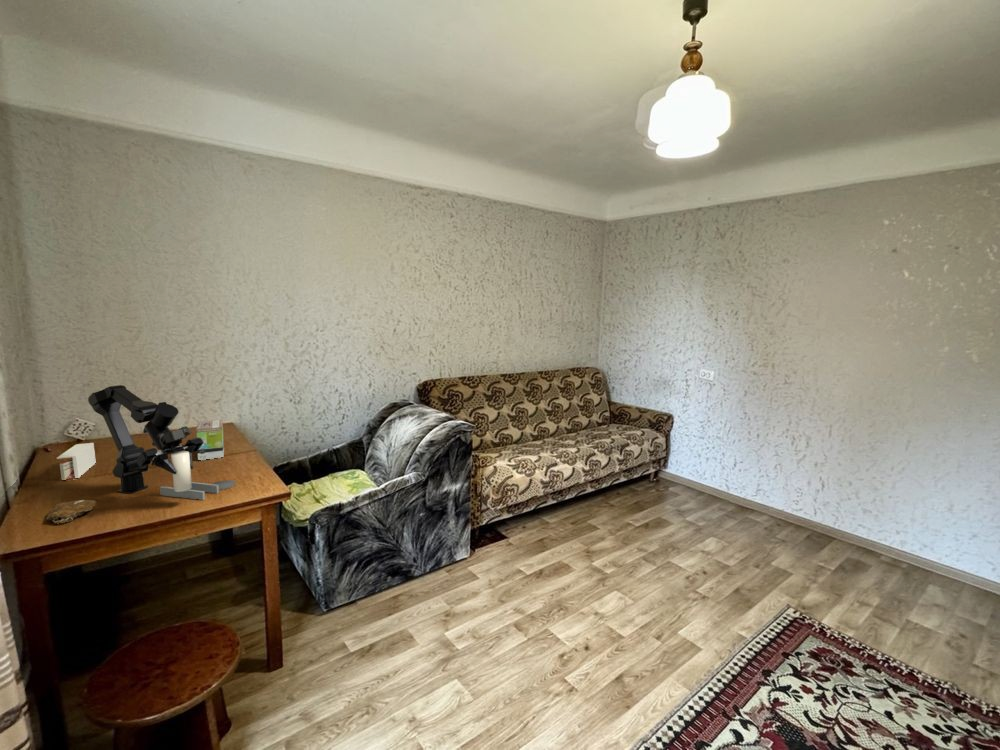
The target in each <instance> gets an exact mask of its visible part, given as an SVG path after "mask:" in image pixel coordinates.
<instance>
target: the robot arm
mask: <svg viewBox="0 0 1000 750" xmlns="http://www.w3.org/2000/svg"><path fill="white" fill-rule="evenodd" d="M87 401H88V404H89V405H90V406H91V408H92V410H93V411H94V412H95V413H97V414H99V415H100V416H101V417H102V418H103V419H104V421H105V424H106V426H107V429H108V431H109V433H110V434H111V437H112V440H113V442H114V444H115V446H116V449H117V451H118V453H117V456H116V459H115V460H116V465H115V467H114V468H113V470H112V473H113V477H116V478H119V479H120V485H121V488H120V489H118V490H117V491H116V492H117V493H123V494H133V493H137V492H139V491H141V490H144V489H146V488H149V486H148V485H146V484H145V481H144V479H145V478H144V476H143V472H147V471H149V465H151V466H155V467H158V468H159V469H163V470H165V471H167V472H169V473H171V474H172V473H173V474H176V473H177V472H176V470H175V468H174V466H173V465H172V462H171V461H170V459H169V457H168V455H171V454H172V453H175V452H180V451H188V452H189V457H190V469H191V470H193V468H194V462H193V461H194V460H193V454H194V453H196V452H197V451H198V450H199V448H200V447H201V446H202V444H203V443H204V442H203V440H202V439H201V438H199V437H197V436H196V437H195V438H190V439H188V440H187V441H186V442H185V444H182V443H183V439H187V437H188V436H190V435H191V430H190V429H189V427H188V426H182V427H180V428H179V429H176V430H170V428H169V427H170V426H171V424H172V423H174V421H175V419H176V417H177V416H178V414H179V409H178V408H177V407H176V406H174V405H172V404H169V403H167V402H166V401H162V402H158V404H157V403H155V402H152V401H147V400H143V399H141V398H140V397H138V396H137V395H136V394H134V393H133V392H131V391H130V390H128V389H127V387H126V386H125V385H123V384H117V385H111V386H110V385H109V386H108V387H105V388H104V389H101V390H97V391H95V392H91V394H90V395H89V396H88V399H87ZM121 406H122V407H124V408H125V409H127V410H128V411H129V412H130V418H132V420H134V422H135V423H138V424H141V423H146V424H145V425H144V428H143V434H148V436H149V437H150V439H151V441H152V443H151V446H152V447H154V448H149V449H145V448H144V447H143V446H137V445H135V442H134V440H133V437H132V435H131V434H130V431H129V428H128V426H127V424H126V422H125V420H124V418H123V416H122V413H121V411H120V410H121ZM181 444H182V445H181ZM155 447H156V448H155ZM173 474H172V475H173Z"/></svg>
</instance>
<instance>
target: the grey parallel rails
mask: <svg viewBox="0 0 1000 750" xmlns="http://www.w3.org/2000/svg"><path fill="white" fill-rule="evenodd" d="M191 482H192V488H191V489H189V490H187V491H182V492H175V491H174V487H171V486H170V487H169V486H163V485H162V486H160V487H159V491H160V492H159V493H160V496H166V497H174V498H180V497H181V498H182V499H188V498H189V499H190V500H196V499H199V501H205V500H206V494H205V493H210V494H219V493H220V490H219V486H218V485H215V484H212V483H206V482H194V481H191ZM189 499H188V500H189Z"/></svg>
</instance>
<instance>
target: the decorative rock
mask: <svg viewBox="0 0 1000 750" xmlns="http://www.w3.org/2000/svg"><path fill="white" fill-rule="evenodd" d="M96 504H97V501H96V500H95V499H80V500H79V499H78V500H71V501H65V502H60V503H56V504H55V506H54V507H53V508H52V509H50V510H49V513H48V515H47V517H46V520H48V521H52V522H53V524H56V523H64V524H66V523H65V522H67V523H71V522H72V521H74V518H77V517H78V516H83V514H85V512H88V511H92V510H93V508H94V507H95V506H96ZM52 519H53V520H52Z"/></svg>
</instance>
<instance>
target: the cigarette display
mask: <svg viewBox="0 0 1000 750" xmlns="http://www.w3.org/2000/svg"><path fill="white" fill-rule="evenodd" d="M71 458H72V459H71ZM56 459H57V460H60V459H70V460H67V461H64V462H60V463H59V468H60V476H61V478H60V479H62V480H66V479H69V478H72V477H74V476H75V478H79V479H80V477H81V475H82V476H83V475H84V474H85V473H86V472H87V471H89V468H92V467H93V466H95V465H96V464H97V462H96V453H95V444H94V442H89V443H87V442H86V443H78V444H77V443H76V444H74V445H72V447H70V448H69V449H67V450H66V451H64V452H63V453H61V454H60V455H59V456H57V457H56ZM95 463H96V464H95ZM66 481H67V480H66Z"/></svg>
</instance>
